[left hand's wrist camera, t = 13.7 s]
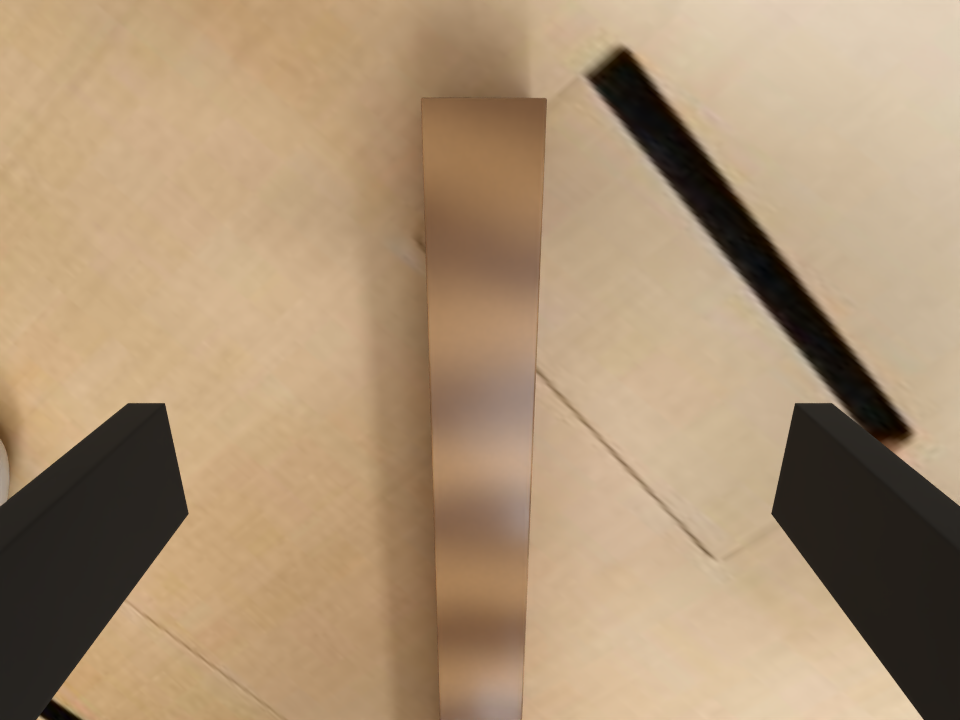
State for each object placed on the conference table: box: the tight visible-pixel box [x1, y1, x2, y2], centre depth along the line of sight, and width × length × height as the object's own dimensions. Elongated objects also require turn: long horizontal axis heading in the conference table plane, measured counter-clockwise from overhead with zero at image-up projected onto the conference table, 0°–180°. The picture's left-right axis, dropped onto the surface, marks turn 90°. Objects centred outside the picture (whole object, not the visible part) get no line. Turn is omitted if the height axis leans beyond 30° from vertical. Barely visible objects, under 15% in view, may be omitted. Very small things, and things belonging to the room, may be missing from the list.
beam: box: [421, 98, 547, 720], centre depth 40 cm, size 60×5×8 cm, turn 0°
